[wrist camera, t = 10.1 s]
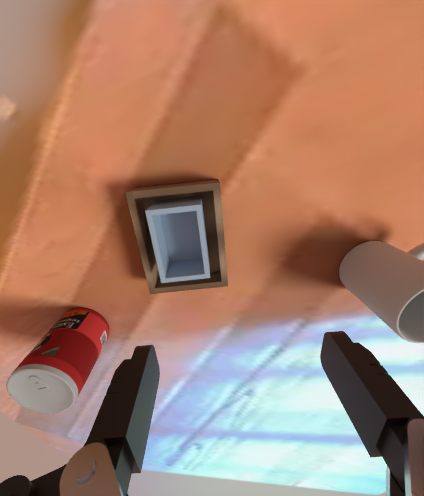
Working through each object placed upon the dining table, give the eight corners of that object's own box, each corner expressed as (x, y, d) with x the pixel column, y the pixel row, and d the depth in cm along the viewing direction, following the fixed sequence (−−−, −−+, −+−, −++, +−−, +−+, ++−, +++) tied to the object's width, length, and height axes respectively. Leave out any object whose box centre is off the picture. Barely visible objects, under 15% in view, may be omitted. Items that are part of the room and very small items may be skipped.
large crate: (134, 187, 28) (125, 192, 25) (217, 179, 28) (219, 182, 25) (155, 280, 33) (150, 294, 30) (225, 273, 33) (228, 286, 30)
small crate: (154, 201, 28) (145, 210, 23) (201, 196, 28) (201, 204, 23) (167, 264, 32) (161, 283, 27) (209, 259, 32) (210, 277, 27)
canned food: (86, 298, 34) (37, 359, 24) (121, 332, 37) (90, 399, 27) (50, 320, 35) (-11, 386, 25) (86, 351, 38) (44, 421, 28)
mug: (355, 299, 36) (415, 355, 26) (327, 266, 33) (381, 315, 23) (426, 250, 33) (525, 293, 23) (400, 211, 30) (499, 239, 20)
